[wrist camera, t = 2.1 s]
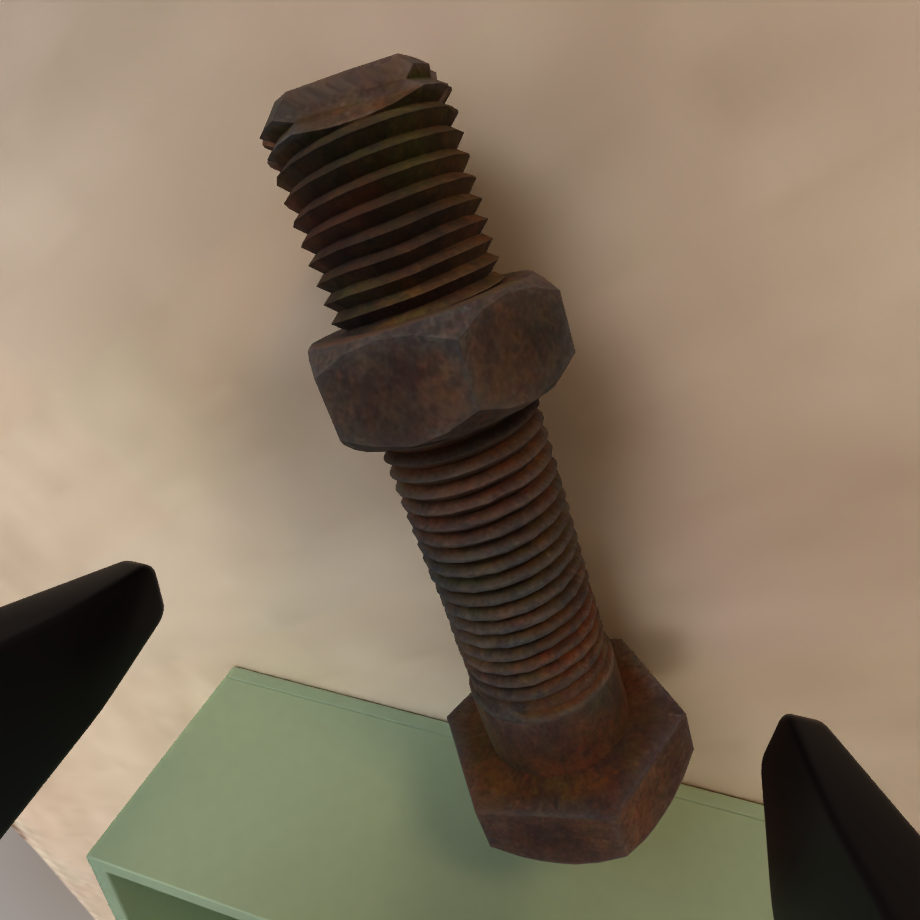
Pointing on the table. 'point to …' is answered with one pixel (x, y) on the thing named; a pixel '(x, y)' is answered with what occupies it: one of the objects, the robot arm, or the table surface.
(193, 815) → the carton
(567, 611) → the bolt
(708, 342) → the table surface
